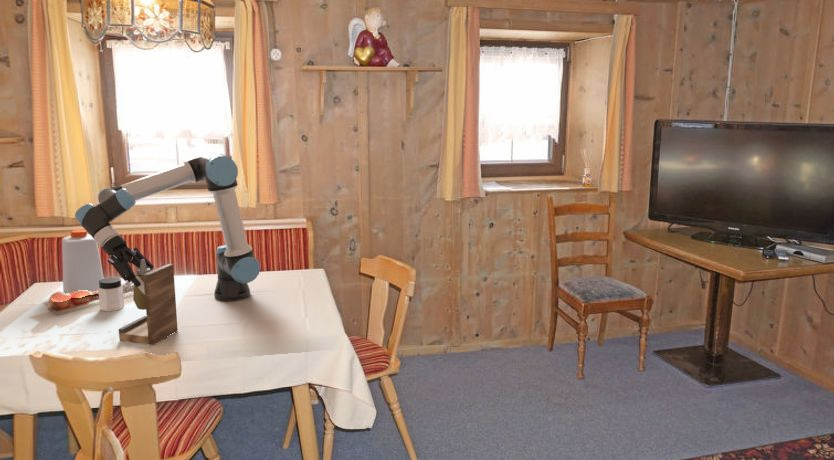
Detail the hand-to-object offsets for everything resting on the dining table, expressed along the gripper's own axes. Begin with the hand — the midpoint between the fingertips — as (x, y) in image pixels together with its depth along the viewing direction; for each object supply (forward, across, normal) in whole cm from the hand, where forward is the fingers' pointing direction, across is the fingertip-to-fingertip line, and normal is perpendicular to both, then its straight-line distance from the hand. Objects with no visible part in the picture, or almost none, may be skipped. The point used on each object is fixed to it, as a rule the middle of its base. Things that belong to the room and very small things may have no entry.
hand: (153, 288), depth 220 cm
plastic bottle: (-30, -35, -57) cm, 74 cm away
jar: (-13, -22, -39) cm, 47 cm away
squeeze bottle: (+3, 0, -8) cm, 8 cm away
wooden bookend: (+11, 0, -16) cm, 19 cm away
